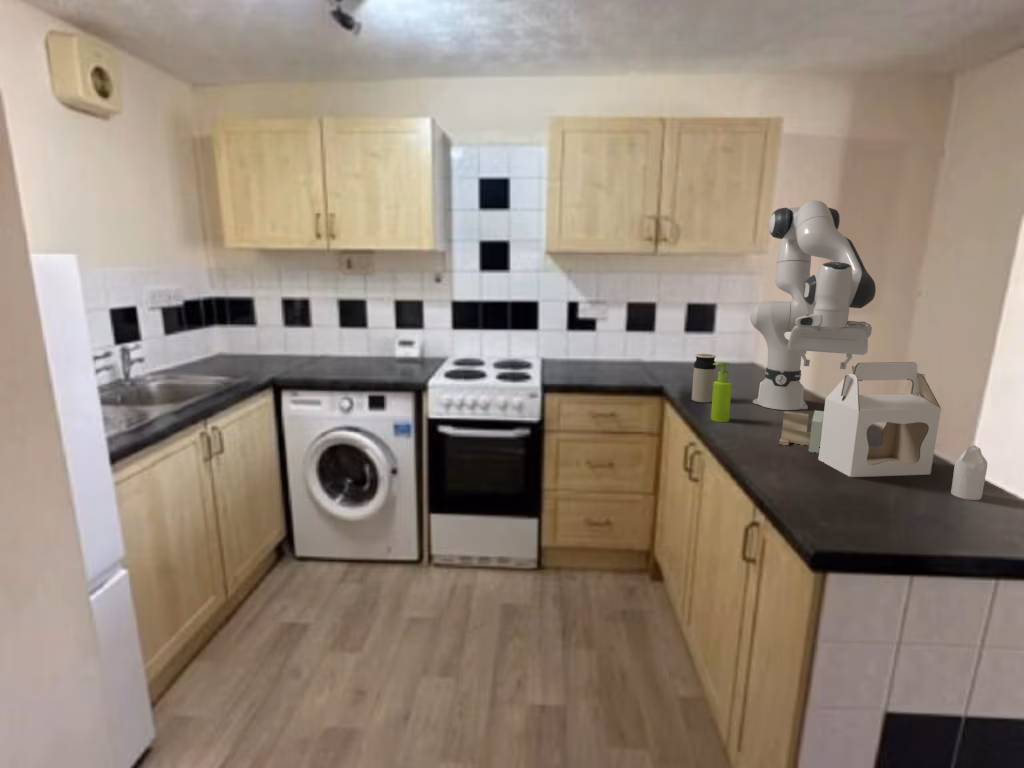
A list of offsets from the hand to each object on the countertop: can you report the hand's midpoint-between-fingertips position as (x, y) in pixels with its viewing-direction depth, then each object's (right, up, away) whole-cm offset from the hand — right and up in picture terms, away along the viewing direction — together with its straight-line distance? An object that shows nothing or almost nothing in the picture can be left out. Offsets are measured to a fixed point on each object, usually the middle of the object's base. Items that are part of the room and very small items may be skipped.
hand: (824, 367), depth 165 cm
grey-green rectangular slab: (-2, -23, +1) cm, 23 cm away
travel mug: (-17, -12, +56) cm, 59 cm away
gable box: (+4, -27, -16) cm, 32 cm away
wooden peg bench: (-2, -23, +1) cm, 23 cm away
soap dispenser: (-21, -17, +28) cm, 39 cm away
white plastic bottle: (+14, -31, -34) cm, 48 cm away
